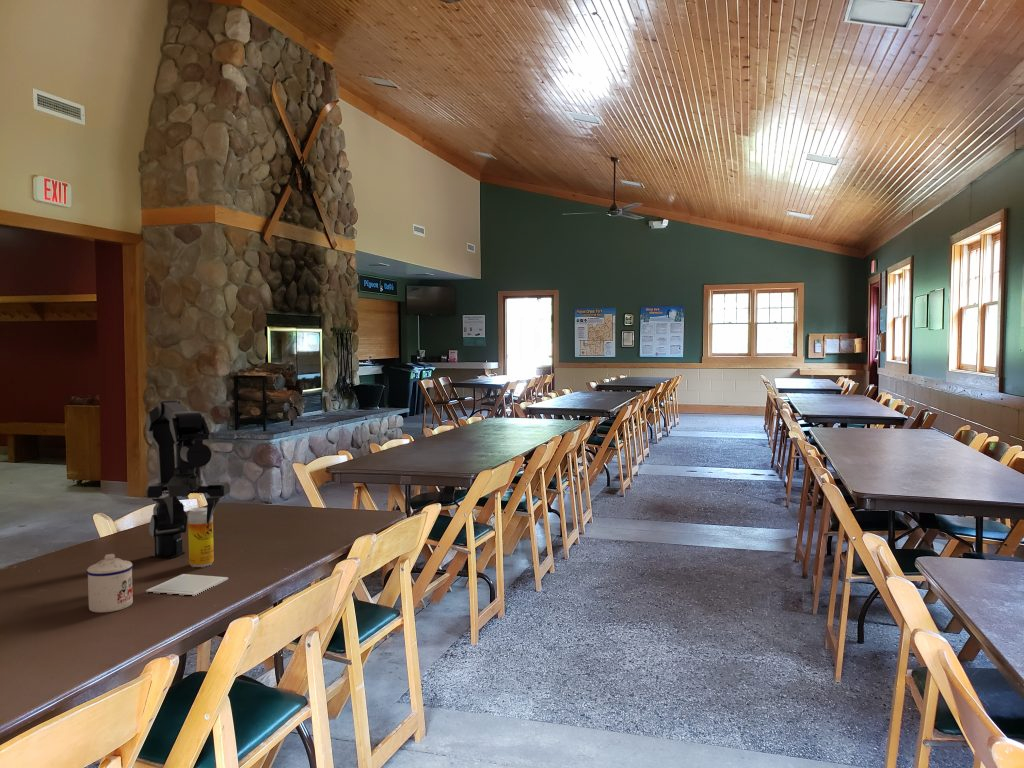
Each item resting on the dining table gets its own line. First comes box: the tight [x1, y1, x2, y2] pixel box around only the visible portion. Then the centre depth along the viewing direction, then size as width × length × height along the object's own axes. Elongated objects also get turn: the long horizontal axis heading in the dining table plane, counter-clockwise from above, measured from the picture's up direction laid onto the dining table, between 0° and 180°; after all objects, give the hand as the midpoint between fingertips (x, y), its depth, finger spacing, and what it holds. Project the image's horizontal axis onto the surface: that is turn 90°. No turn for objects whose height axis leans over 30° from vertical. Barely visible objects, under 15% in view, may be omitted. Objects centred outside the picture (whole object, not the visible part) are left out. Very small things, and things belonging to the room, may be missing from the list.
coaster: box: [145, 573, 229, 597], centre depth 177 cm, size 13×13×1 cm
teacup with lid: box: [86, 553, 134, 614], centre depth 164 cm, size 12×9×12 cm
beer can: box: [187, 506, 215, 568], centre depth 194 cm, size 6×6×15 cm
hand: (189, 523), depth 184 cm, fingers open, 9 cm apart
